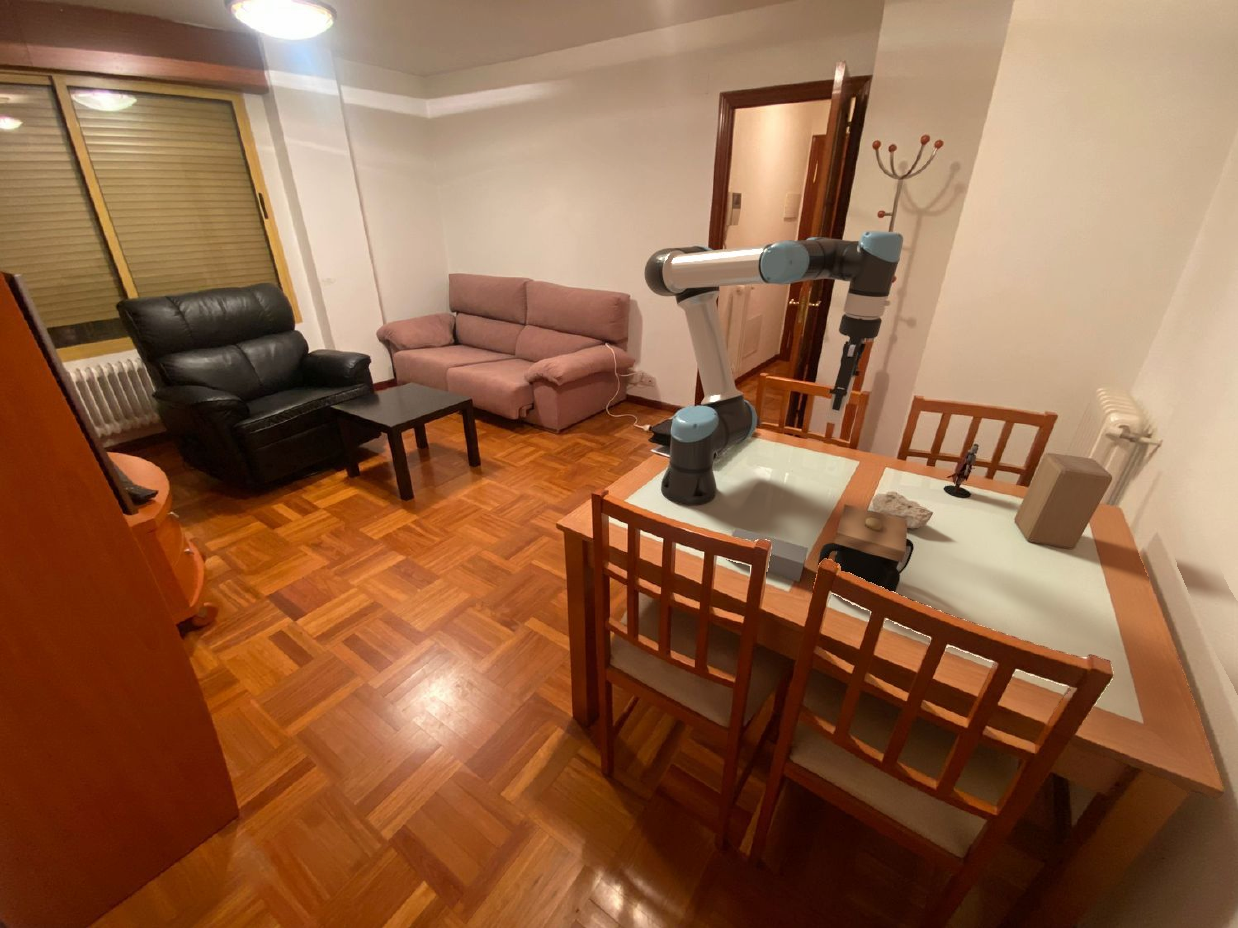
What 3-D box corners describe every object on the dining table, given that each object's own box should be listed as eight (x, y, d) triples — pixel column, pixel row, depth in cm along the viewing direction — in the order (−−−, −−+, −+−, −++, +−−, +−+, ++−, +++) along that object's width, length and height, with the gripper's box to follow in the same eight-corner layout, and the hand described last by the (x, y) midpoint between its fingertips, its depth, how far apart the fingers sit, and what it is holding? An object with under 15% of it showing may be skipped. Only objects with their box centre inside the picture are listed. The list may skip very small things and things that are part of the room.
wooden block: (1058, 528, 125) (1094, 457, 116) (1075, 551, 117) (1116, 477, 107) (1011, 520, 128) (1043, 450, 119) (1025, 542, 120) (1061, 469, 110)
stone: (895, 543, 125) (925, 523, 117) (861, 503, 130) (888, 481, 122) (911, 534, 128) (941, 514, 121) (878, 495, 134) (905, 474, 126)
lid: (834, 543, 98) (837, 528, 97) (842, 513, 108) (845, 500, 106) (901, 562, 93) (907, 547, 92) (904, 530, 103) (909, 515, 101)
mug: (837, 549, 116) (849, 505, 111) (910, 583, 106) (928, 537, 101) (803, 581, 106) (815, 535, 100) (881, 622, 96) (898, 574, 90)
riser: (725, 559, 112) (728, 541, 110) (733, 544, 117) (736, 527, 115) (799, 582, 106) (803, 563, 103) (803, 566, 110) (808, 548, 108)
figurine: (971, 500, 136) (991, 451, 129) (940, 493, 139) (958, 445, 132) (970, 490, 141) (989, 442, 134) (940, 483, 144) (958, 436, 137)
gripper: (877, 330, 90) (847, 436, 100) (887, 307, 109) (861, 398, 119) (833, 324, 93) (809, 428, 103) (850, 303, 112) (828, 392, 123)
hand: (837, 412), depth 111 cm, fingers open, 13 cm apart
